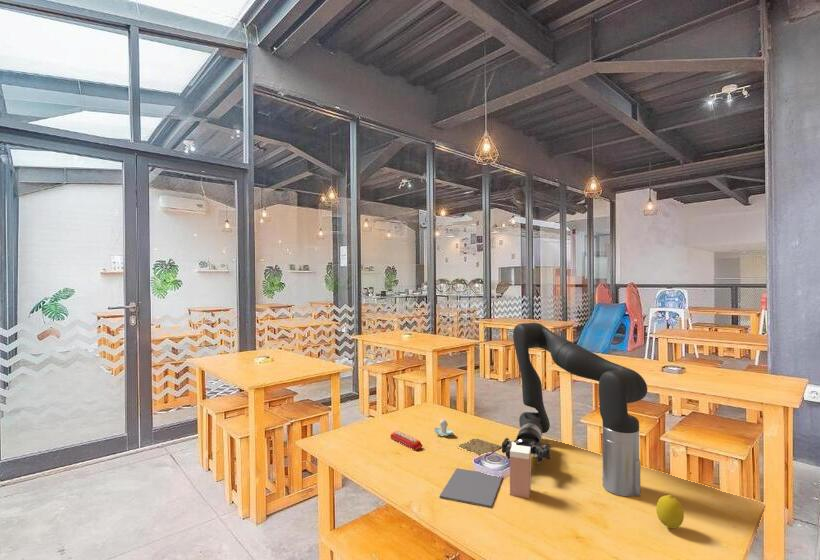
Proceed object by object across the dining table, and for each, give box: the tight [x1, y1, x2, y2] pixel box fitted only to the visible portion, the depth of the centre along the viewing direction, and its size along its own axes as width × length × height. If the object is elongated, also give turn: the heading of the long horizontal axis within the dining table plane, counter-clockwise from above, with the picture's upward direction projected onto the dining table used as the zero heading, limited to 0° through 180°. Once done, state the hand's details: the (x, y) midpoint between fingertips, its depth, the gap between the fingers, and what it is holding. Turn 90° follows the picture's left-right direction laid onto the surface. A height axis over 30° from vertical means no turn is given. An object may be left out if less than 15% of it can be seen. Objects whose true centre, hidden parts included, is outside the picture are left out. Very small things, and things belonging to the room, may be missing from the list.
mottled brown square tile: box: [458, 438, 502, 456], centre depth 150 cm, size 12×12×1 cm
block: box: [509, 444, 532, 499], centre depth 118 cm, size 5×5×12 cm
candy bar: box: [390, 430, 424, 451], centre depth 153 cm, size 16×4×3 cm, turn 38°
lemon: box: [655, 494, 685, 530], centre depth 101 cm, size 6×6×8 cm
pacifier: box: [433, 419, 455, 437], centre depth 162 cm, size 7×6×6 cm
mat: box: [438, 467, 503, 508], centre depth 121 cm, size 14×18×1 cm
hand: (523, 457), depth 125 cm, fingers open, 8 cm apart
